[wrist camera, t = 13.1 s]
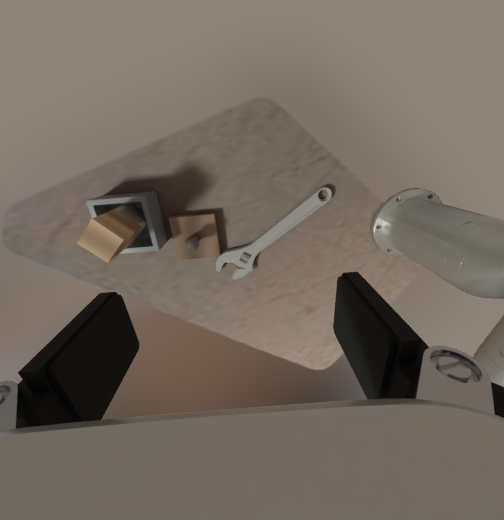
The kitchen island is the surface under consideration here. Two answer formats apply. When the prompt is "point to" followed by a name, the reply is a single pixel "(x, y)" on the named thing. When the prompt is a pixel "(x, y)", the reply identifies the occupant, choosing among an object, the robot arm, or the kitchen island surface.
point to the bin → (150, 206)
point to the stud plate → (195, 227)
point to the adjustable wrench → (270, 235)
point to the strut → (113, 231)
